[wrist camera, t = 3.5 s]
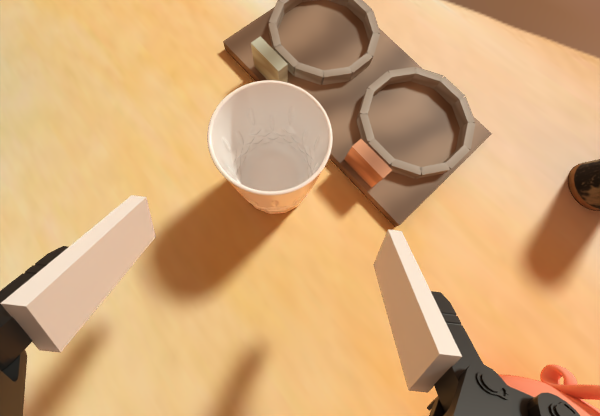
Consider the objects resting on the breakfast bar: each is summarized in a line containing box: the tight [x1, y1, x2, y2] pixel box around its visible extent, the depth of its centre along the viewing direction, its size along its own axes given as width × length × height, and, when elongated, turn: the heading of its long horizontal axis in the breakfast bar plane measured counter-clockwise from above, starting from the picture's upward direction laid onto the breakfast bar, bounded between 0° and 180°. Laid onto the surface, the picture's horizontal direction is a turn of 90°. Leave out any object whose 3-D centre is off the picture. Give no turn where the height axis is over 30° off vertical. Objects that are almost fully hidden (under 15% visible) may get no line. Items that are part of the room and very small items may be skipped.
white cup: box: [207, 80, 333, 214], centre depth 21 cm, size 8×8×10 cm
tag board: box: [223, 0, 491, 226], centre depth 26 cm, size 27×15×4 cm, turn 42°
